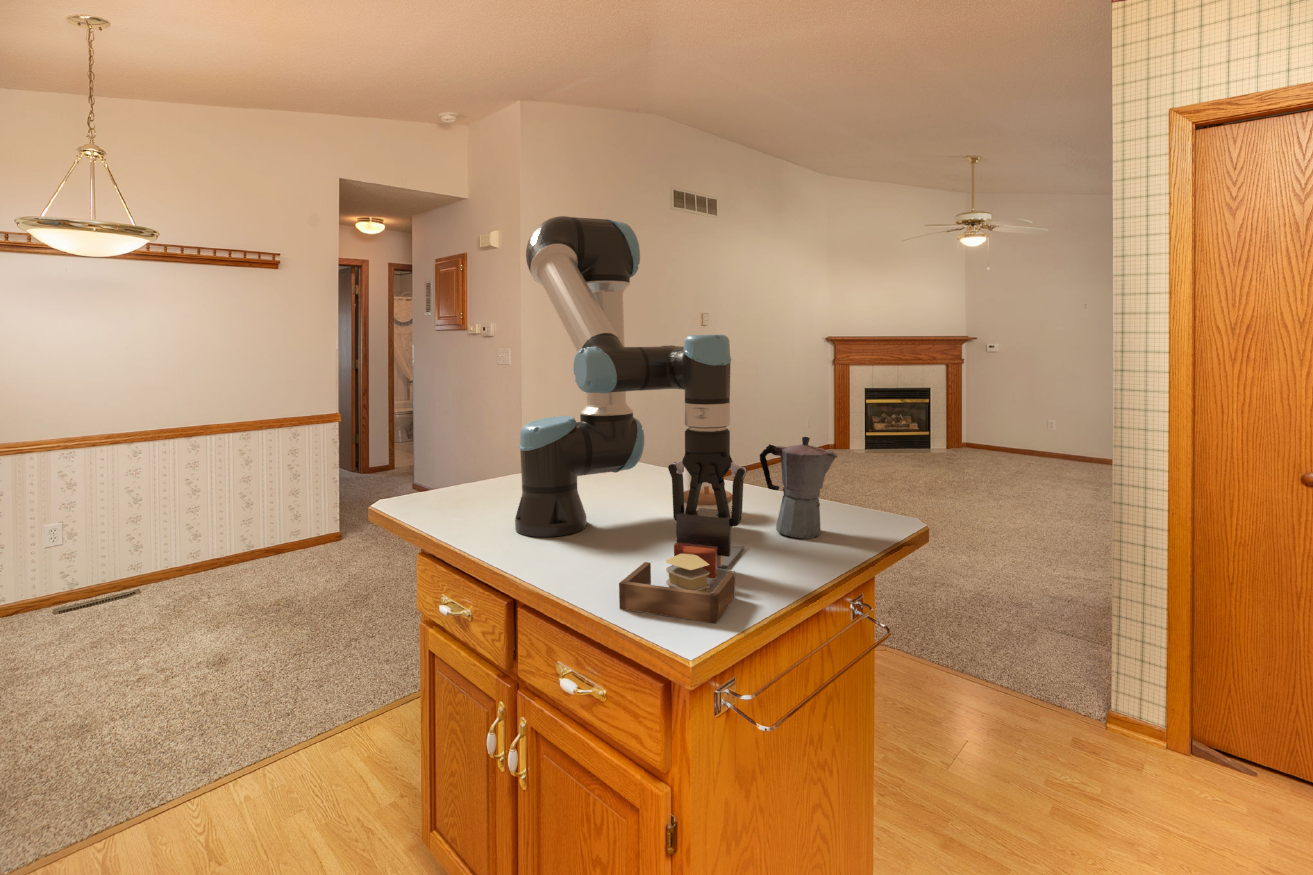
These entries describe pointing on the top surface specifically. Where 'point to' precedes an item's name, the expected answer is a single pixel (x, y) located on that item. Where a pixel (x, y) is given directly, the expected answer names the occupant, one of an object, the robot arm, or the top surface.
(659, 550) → the top surface
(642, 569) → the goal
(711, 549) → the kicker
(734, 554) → the grey flat block
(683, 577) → the stacked layers on plate
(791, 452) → the moka pot
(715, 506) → the lidded jar
